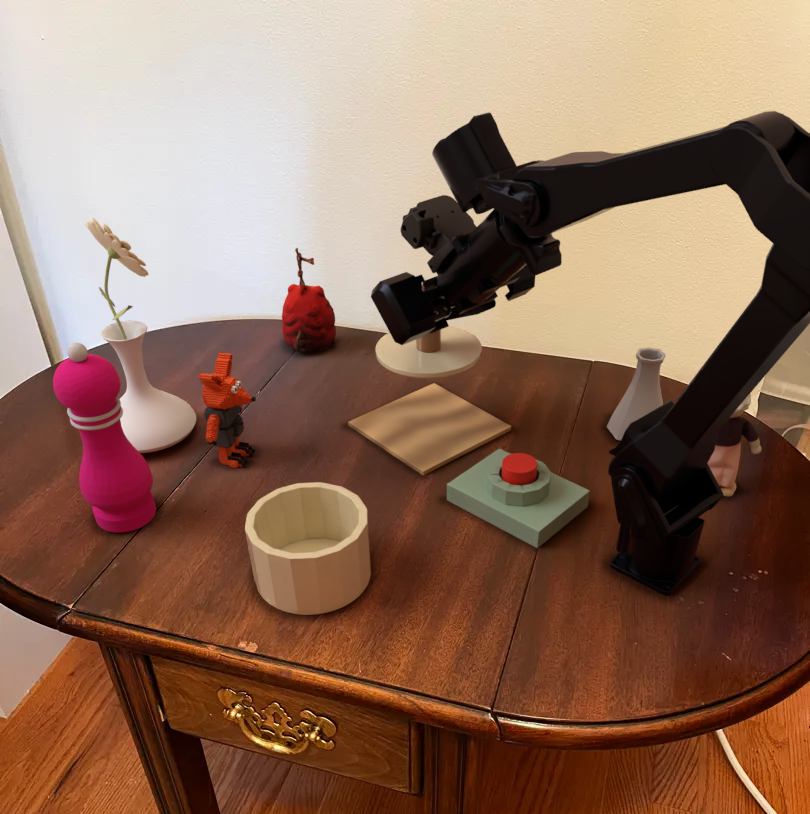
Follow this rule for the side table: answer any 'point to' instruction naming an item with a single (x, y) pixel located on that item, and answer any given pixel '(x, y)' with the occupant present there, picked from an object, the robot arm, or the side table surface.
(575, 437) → the side table surface
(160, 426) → the flower in vase
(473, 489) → the button base
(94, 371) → the pepper mill
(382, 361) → the jar lid
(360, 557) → the jar
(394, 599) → the side table surface
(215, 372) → the toy animal
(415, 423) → the wooden board
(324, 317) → the red clay folk toy
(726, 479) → the grandmother figurine
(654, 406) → the flask
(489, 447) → the side table surface
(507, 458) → the release button
